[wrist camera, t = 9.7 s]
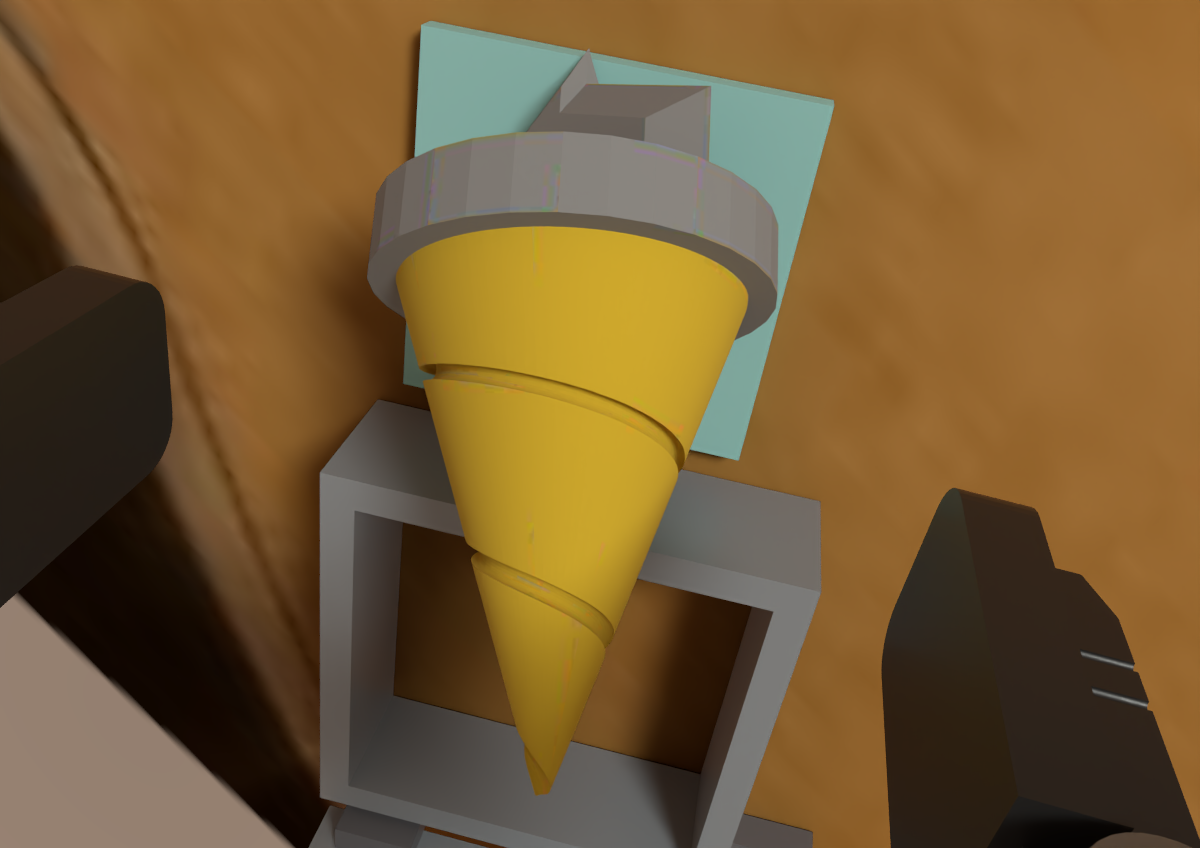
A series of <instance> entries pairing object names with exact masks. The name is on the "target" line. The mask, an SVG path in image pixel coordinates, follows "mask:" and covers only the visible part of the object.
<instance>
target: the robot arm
mask: <svg viewBox="0 0 1200 848" xmlns="http://www.w3.org/2000/svg"><path fill="white" fill-rule="evenodd" d="M171 428H172V401H171V388H170V374H169V361H168V348H167V335H166V321H165V310H164V304H163V300H162V297H161V295H160V293H159V291H158V290H157V289H156V288H155V287H154V286H153V285H152V284H149V283H147V282H143V281H139V280H135V279H131V278H127V277H123V276H119V275H115V274H111V273H107V272H103V271H99V270H95V269H91V268H87V267H83V266H71V267H69V268H66V269H64V270H62V271H60V272H58V273H56V274H55V275H53V276H51V277H49V278H47V279H45V280H43V281H42V282H40V283H38V284H36V285H34V286H32V287H30V288H28V289H27V290H25V291H23V292H21V293H19V294H17V295H15V296H14V297H12V298H10V299H8V300H6V301H4V302H2V303H0V607H2V606H3V605H4V604H5V603H6V602H7V601H8V600H9V599H10V598H12V597H13V596H14V595H15V594H16V593H17V592H18V591H19V590H20V589H22V588H23V587H24V586H25V585H26V584H27V583H28V582H29V581H30V580H32V579H33V578H34V577H35V576H36V575H37V574H38V573H39V572H40V571H42V570H43V569H44V568H45V567H46V566H47V565H48V564H49V563H50V562H52V561H53V560H54V559H55V558H56V557H57V556H58V555H59V554H60V553H62V552H63V551H64V550H65V549H66V548H67V547H68V546H69V545H70V544H72V543H73V542H74V541H75V540H76V539H77V538H78V537H79V536H80V535H82V534H83V533H84V532H85V531H86V530H87V529H88V528H89V527H90V526H92V525H93V524H94V523H95V522H96V521H97V520H98V519H99V518H100V517H102V516H103V515H104V514H105V513H106V512H107V511H108V510H109V509H110V508H112V507H113V506H114V505H115V504H116V503H117V502H118V501H119V500H120V499H122V498H123V497H124V496H125V495H126V494H127V493H128V492H129V491H130V490H132V489H133V488H134V487H135V486H136V485H137V484H138V483H139V482H140V481H142V480H143V479H144V478H145V477H146V476H147V475H148V474H149V473H150V472H151V471H152V470H153V469H154V468H155V466H156V465H157V464H158V462H159V461H160V459H161V457H162V455H163V453H164V451H165V449H166V446H167V444H168V441H169V437H170V433H171ZM1134 664H1135V663H1134V660H1133V657H1132V654H1131V652H1130V649H1129V646H1128V643H1127V641H1126V638H1125V635H1124V633H1123V630H1122V627H1121V624H1120V622H1119V619H1118V618H1117V616H1116V615H1115V614H1114V613H1113V612H1112V611H1111V609H1110V608H1109V607H1108V606H1107V605H1106V603H1105V602H1104V601H1103V600H1102V599H1101V598H1100V596H1099V595H1098V594H1097V593H1096V592H1095V590H1094V589H1093V588H1092V587H1091V586H1090V585H1089V583H1088V582H1087V581H1086V580H1085V579H1084V577H1083V576H1082V575H1080V574H1076V573H1072V572H1068V571H1065V570H1061V569H1057V568H1055V566H1054V563H1053V559H1052V556H1051V553H1050V550H1049V546H1048V543H1047V540H1046V536H1045V533H1044V530H1043V527H1042V523H1041V520H1040V517H1039V515H1038V512H1037V511H1036V510H1035V509H1034V508H1032V507H1028V506H1024V505H1020V504H1016V503H1013V502H1009V501H1005V500H1001V499H997V498H993V497H989V496H985V495H981V494H977V493H973V492H969V491H965V490H961V489H957V488H952V489H950V490H949V491H948V492H947V493H946V494H945V496H944V497H943V499H942V500H941V502H940V504H939V506H938V508H937V510H936V513H935V515H934V517H933V520H932V522H931V524H930V527H929V529H928V531H927V533H926V536H925V538H924V540H923V543H922V545H921V547H920V550H919V552H918V554H917V557H916V559H915V561H914V563H913V566H912V568H911V570H910V573H909V575H908V577H907V580H906V582H905V584H904V587H903V589H902V591H901V593H900V596H899V598H898V600H897V603H896V605H895V608H894V610H893V613H892V616H891V619H890V622H889V625H888V629H887V633H886V638H885V643H884V649H883V656H882V691H883V709H884V728H885V746H886V765H887V784H888V802H889V821H890V839H891V848H1200V839H1199V837H1198V834H1197V831H1196V829H1195V826H1194V823H1193V820H1192V818H1191V815H1190V812H1189V809H1188V807H1187V804H1186V801H1185V799H1184V796H1183V793H1182V790H1181V788H1180V785H1179V782H1178V780H1177V777H1176V774H1175V771H1174V769H1173V766H1172V763H1171V761H1170V758H1169V755H1168V752H1167V750H1166V747H1165V744H1164V741H1163V739H1162V736H1161V733H1160V731H1159V728H1158V725H1157V722H1156V720H1155V717H1154V714H1153V712H1152V711H1149V710H1147V704H1148V702H1149V701H1148V698H1147V695H1146V692H1145V690H1144V687H1143V684H1142V682H1141V679H1140V676H1139V673H1138V672H1134V671H1133V667H1134Z"/></svg>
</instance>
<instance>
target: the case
mask: <svg viewBox="0 0 1200 848" xmlns="http://www.w3.org/2000/svg"><path fill="white" fill-rule="evenodd" d="M403 522H404V523H409V524H413V525H417V526H421V527H425V528H429V529H434V530H438V531H442V532H446V533H450V534H454V535H458V536H463V537H465V536H464V533H463V529H462V525H461V521H460V518H459V514H458V510H457V507H456V503H455V499H454V495H453V492H452V488H451V484H450V481H449V477H448V473H447V470H446V466H445V462H444V458H443V455H442V451H441V447H440V444H439V440H438V436H437V433H436V429H435V425H434V421H433V418H432V414H431V411H426V410H422V409H418V408H413V407H409V406H405V405H400V404H396V403H392V402H387V401H383V400H379V399H378V400H377V401H376V402H375V404H374V405H373V406H372V407H371V409H370V410H369V411H368V413H367V414H366V415H365V416H364V418H363V419H362V420H361V421H360V423H359V424H358V425H357V426H356V428H355V429H354V430H353V431H352V433H351V434H350V435H349V436H348V438H347V439H346V440H345V441H344V443H343V444H342V445H341V447H340V448H339V449H338V450H337V452H336V453H335V454H334V455H333V457H332V458H331V459H330V460H329V462H328V463H327V464H326V465H325V467H324V468H323V469H322V470H321V472H320V798H324V799H328V800H331V801H335V802H339V803H343V804H346V805H347V806H346V808H345V809H342V808H338V807H334V806H329V808H328V810H327V812H326V814H325V816H324V818H323V820H322V822H321V824H320V826H319V828H318V830H317V832H316V834H315V836H314V838H313V840H312V842H311V844H310V846H309V848H487V847H484V846H480V845H476V844H472V843H469V842H465V841H461V840H457V839H454V838H450V837H446V836H443V835H439V834H435V833H431V832H428V831H424V828H425V826H429V827H432V828H436V829H440V830H444V831H447V832H451V833H455V834H459V835H462V836H466V837H470V838H474V839H477V840H481V841H485V842H489V843H492V844H496V845H500V846H503V847H507V848H812V838H813V832H810V831H807V830H803V829H799V828H795V827H791V826H787V825H783V824H780V823H776V822H772V821H768V820H764V819H760V818H756V817H753V816H749V815H745V814H743V812H744V809H745V806H746V803H747V800H748V798H749V795H750V792H751V789H752V786H753V783H754V781H755V778H756V775H757V772H758V769H759V766H760V764H761V761H762V758H763V755H764V752H765V749H766V747H767V744H768V741H769V738H770V735H771V733H772V730H773V727H774V724H775V721H776V718H777V716H778V713H779V710H780V707H781V704H782V701H783V699H784V696H785V693H786V690H787V687H788V684H789V682H790V679H791V676H792V673H793V670H794V667H795V665H796V662H797V659H798V656H799V653H800V650H801V648H802V645H803V642H804V639H805V636H806V633H807V631H808V628H809V625H810V622H811V619H812V616H813V614H814V611H815V608H816V605H817V602H818V599H819V597H820V594H821V523H820V501H816V500H811V499H807V498H803V497H798V496H794V495H790V494H785V493H781V492H777V491H772V490H768V489H764V488H760V487H755V486H751V485H747V484H742V483H738V482H734V481H729V480H725V479H721V478H716V477H712V476H708V475H703V474H699V473H695V472H690V471H686V470H682V469H681V470H680V472H679V473H678V479H677V482H676V485H675V487H674V489H673V492H672V494H671V497H670V499H669V502H668V504H667V507H666V509H665V511H664V514H663V516H662V519H661V521H660V524H659V526H658V529H657V531H656V534H655V536H654V538H653V541H652V543H651V546H650V548H649V551H648V553H647V556H646V558H645V560H644V563H643V565H642V568H641V570H640V573H639V575H638V578H637V579H641V580H645V581H649V582H653V583H657V584H661V585H666V586H670V587H674V588H678V589H682V590H686V591H690V592H695V593H699V594H703V595H707V596H711V597H715V598H720V599H724V600H728V601H732V602H736V603H740V604H744V605H749V606H752V609H751V612H750V615H749V618H748V622H747V625H746V628H745V631H744V635H743V638H742V641H741V644H740V648H739V651H738V654H737V657H736V661H735V664H734V667H733V670H732V674H731V677H730V680H729V683H728V687H727V690H726V693H725V696H724V700H723V703H722V706H721V709H720V713H719V716H718V719H717V722H716V726H715V729H714V732H713V735H712V739H711V742H710V745H709V748H708V752H707V755H706V758H705V761H704V765H703V768H702V771H701V774H697V773H693V772H689V771H685V770H681V769H677V768H674V767H670V766H666V765H662V764H658V763H654V762H650V761H646V760H642V759H638V758H635V757H631V756H627V755H623V754H619V753H615V752H611V751H607V750H603V749H599V748H596V747H592V746H588V745H584V744H580V743H576V742H572V741H571V742H570V744H569V747H568V749H567V752H566V754H565V756H564V759H563V761H562V764H561V766H560V768H559V771H558V773H557V776H556V778H555V780H554V783H553V785H552V787H551V790H550V792H549V793H548V794H545V795H544V794H542V795H538V796H536V795H535V793H534V790H533V786H532V783H531V779H530V776H529V772H528V769H527V765H526V761H525V755H524V742H523V741H522V739H521V737H520V735H519V733H518V731H517V728H516V727H514V726H510V725H506V724H502V723H498V722H494V721H490V720H486V719H483V718H479V717H475V716H471V715H467V714H463V713H459V712H455V711H451V710H448V709H444V708H440V707H436V706H432V705H428V704H424V703H420V702H416V701H412V700H409V699H405V698H401V697H397V696H393V691H394V673H395V655H396V637H397V619H398V601H399V583H400V565H401V546H402V528H403Z"/></svg>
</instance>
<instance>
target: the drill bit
mask: <svg viewBox="0 0 1200 848" xmlns="http://www.w3.org/2000/svg"><path fill="white" fill-rule="evenodd" d="M710 111H711V86H690V85H633V84H599V83H598V80H597V76H596V72H595V69H594V65H593V62H592V58H591V54H590V51H589V49H588V50H587V51H586V53H585V54H584V55H583V57H582V58H581V59H580V61H579V62H578V63H577V65H576V66H575V67H574V69H573V70H572V71H571V73H570V74H569V75H568V77H567V78H566V79H565V81H564V82H563V83H562V85H561V86H560V87H559V89H558V90H557V91H556V93H555V94H554V95H553V97H552V98H551V99H550V101H549V102H548V103H547V105H546V106H545V107H544V109H543V110H542V111H541V113H540V114H539V115H538V117H537V118H536V119H535V121H534V122H533V123H532V125H531V126H530V127H529V129H528V130H527V131H526V132H515V133H507V134H500V135H492V136H485V137H477V138H471V139H467V140H463V141H460V142H456V143H452V144H448V145H445V146H441V147H437V148H434V149H432V150H430V151H428V152H425V153H423V154H421V155H419V156H417V157H415V158H412V159H410V160H408V161H406V162H405V163H404V164H402V165H401V166H400V167H399V168H397V169H396V170H395V171H393V172H392V173H391V174H390V175H388V176H387V177H386V179H385V181H384V182H383V184H382V185H381V187H380V189H379V190H378V192H377V194H376V202H375V211H374V220H373V229H372V237H371V246H370V255H369V264H368V273H367V279H368V282H369V284H370V286H371V288H372V291H373V293H374V294H375V295H376V296H377V297H378V298H379V299H380V300H381V301H382V302H383V303H384V304H385V305H386V306H387V307H389V308H390V309H392V310H393V311H395V312H396V313H398V314H399V315H401V316H402V317H404V318H405V319H406V321H407V325H408V329H409V333H410V336H411V340H412V344H413V347H414V351H415V355H416V359H417V362H418V366H419V369H420V370H421V371H423V372H426V373H429V374H432V375H435V376H434V378H433V379H429V380H424V381H423V384H424V388H425V392H426V396H427V399H428V403H429V407H430V410H431V414H432V418H433V421H434V425H435V429H436V433H437V436H438V440H439V444H440V447H441V451H442V455H443V458H444V462H445V466H446V470H447V473H448V477H449V481H450V484H451V488H452V492H453V495H454V499H455V503H456V507H457V510H458V514H459V518H460V521H461V525H462V529H463V533H464V536H465V540H466V542H467V544H468V545H469V546H471V547H472V548H474V549H475V550H477V551H478V552H477V553H475V554H474V555H473V556H472V558H471V562H472V566H473V570H474V573H475V577H476V581H477V584H478V588H479V592H480V595H481V599H482V603H483V607H484V610H485V614H486V618H487V621H488V625H489V629H490V632H491V636H492V640H493V644H494V647H495V651H496V655H497V658H498V662H499V666H500V669H501V673H502V677H503V681H504V684H505V688H506V692H507V695H508V699H509V703H510V706H511V710H512V714H513V718H514V721H515V725H516V728H517V731H518V733H519V735H520V737H521V739H522V741H523V742H524V755H525V761H526V765H527V769H528V772H529V776H530V779H531V783H532V786H533V790H534V793H535V795H536V796H538V795H542V794H544V795H545V794H548V793H549V792H550V790H551V787H552V785H553V783H554V780H555V778H556V776H557V773H558V771H559V768H560V766H561V764H562V761H563V759H564V756H565V754H566V752H567V749H568V747H569V744H570V742H571V739H572V737H573V734H574V732H575V729H576V727H577V725H578V722H579V720H580V717H581V715H582V712H583V710H584V707H585V705H586V702H587V700H588V698H589V695H590V693H591V690H592V688H593V685H594V683H595V680H596V678H597V676H598V673H599V671H600V668H601V666H602V663H603V661H604V658H605V648H606V647H607V646H608V645H609V644H610V642H611V641H612V639H613V636H614V634H615V632H616V629H617V627H618V624H619V622H620V619H621V617H622V614H623V612H624V609H625V607H626V605H627V602H628V600H629V597H630V595H631V592H632V590H633V587H634V585H635V583H636V580H637V578H638V575H639V573H640V570H641V568H642V565H643V563H644V560H645V558H646V556H647V553H648V551H649V548H650V546H651V543H652V541H653V538H654V536H655V534H656V531H657V529H658V526H659V524H660V521H661V519H662V516H663V514H664V511H665V509H666V507H667V504H668V502H669V499H670V497H671V494H672V492H673V489H674V487H675V485H676V482H677V479H678V473H679V472H680V470H681V469H682V467H683V465H684V463H685V460H686V458H687V455H688V453H689V450H690V448H691V445H692V443H693V440H694V438H695V436H696V433H697V431H698V428H699V426H700V423H701V421H702V418H703V416H704V414H705V411H706V409H707V406H708V404H709V401H710V399H711V396H712V394H713V391H714V389H715V387H716V384H717V382H718V379H719V377H720V374H721V372H722V369H723V367H724V365H725V362H726V360H727V357H728V355H729V352H730V350H731V347H732V345H733V343H734V340H736V339H739V338H741V337H743V336H745V335H747V334H750V333H752V332H753V331H754V330H756V329H757V328H758V327H760V326H761V325H762V324H764V323H765V322H767V320H768V319H769V317H770V316H771V315H772V313H773V312H774V310H775V309H776V303H777V294H778V222H777V219H776V217H775V214H774V211H773V209H772V207H771V205H770V204H769V203H768V202H767V201H766V200H765V198H764V197H763V196H762V195H761V194H760V193H759V192H758V190H757V189H756V188H754V187H753V186H751V185H750V184H748V183H747V182H745V181H744V180H743V179H741V178H740V177H738V176H737V175H735V174H734V173H733V172H731V171H729V170H726V169H724V168H722V167H720V166H718V165H716V164H713V163H711V162H709V143H710Z"/></svg>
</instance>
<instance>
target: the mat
mask: <svg viewBox="0 0 1200 848" xmlns="http://www.w3.org/2000/svg"><path fill="white" fill-rule="evenodd" d="M585 53H586V51H581V50H576V49H571V48H566V47H561V46H556V45H551V44H546V43H540V42H535V41H530V40H525V39H520V38H515V37H510V36H505V35H500V34H495V33H490V32H485V31H480V30H474V29H469V28H464V27H459V26H454V25H449V24H444V23H439V22H434V21H429V22H427V23H425V24H422V25H421V41H420V60H419V80H418V100H417V120H416V139H415V157H417V156H419V155H421V154H423V153H425V152H428V151H430V150H432V149H434V148H437V147H441V146H445V145H448V144H452V143H456V142H460V141H463V140H467V139H471V138H477V137H485V136H492V135H500V134H507V133H515V132H526V131H527V130H528V129H529V127H530V126H531V125H532V123H533V122H534V121H535V119H536V118H537V117H538V115H539V114H540V113H541V111H542V110H543V109H544V107H545V106H546V105H547V103H548V102H549V101H550V99H551V98H552V97H553V95H554V94H555V93H556V91H557V90H558V89H559V87H560V86H561V85H562V83H563V82H564V81H565V79H566V78H567V77H568V75H569V74H570V73H571V71H572V70H573V69H574V67H575V66H576V65H577V63H578V62H579V61H580V59H581V58H582V57H583V55H584V54H585ZM590 54H591V58H592V62H593V65H594V69H595V72H596V76H597V80H598V83H599V84H633V85H690V86H711V111H710V143H709V162H711V163H713V164H716V165H718V166H720V167H722V168H724V169H726V170H729V171H731V172H733V173H734V174H735V175H737V176H738V177H740V178H741V179H743V180H744V181H745V182H747V183H748V184H750V185H751V186H753V187H754V188H756V189H757V190H758V192H759V193H760V194H761V195H762V196H763V197H764V198H765V200H766V201H767V202H768V203H769V204H770V205H771V207H772V209H773V211H774V214H775V217H776V219H777V222H778V294H777V303H776V309H775V310H774V312H773V313H772V315H771V316H770V317H769V319H768V320H767V322H765V323H764V324H762V325H761V326H760V327H758V328H757V329H756V330H754V331H753V332H752V333H750V334H747V335H745V336H743V337H741V338H739V339H736V340H734V343H733V345H732V347H731V350H730V352H729V355H728V357H727V360H726V362H725V365H724V367H723V369H722V372H721V374H720V377H719V379H718V382H717V384H716V387H715V389H714V391H713V394H712V396H711V399H710V401H709V404H708V406H707V409H706V411H705V414H704V416H703V418H702V421H701V423H700V426H699V428H698V431H697V433H696V436H695V438H694V440H693V443H692V445H691V448H690V450H695V451H699V452H703V453H708V454H712V455H716V456H721V457H725V458H730V459H734V460H738V461H739V457H740V453H741V450H742V446H743V442H744V439H745V435H746V431H747V427H748V424H749V420H750V416H751V413H752V409H753V405H754V402H755V398H756V394H757V390H758V387H759V383H760V379H761V376H762V372H763V368H764V364H765V361H766V357H767V353H768V350H769V346H770V342H771V339H772V335H773V331H774V327H775V324H776V320H777V316H778V313H779V309H780V305H781V301H782V298H783V294H784V290H785V287H786V283H787V279H788V276H789V272H790V268H791V264H792V261H793V257H794V253H795V250H796V246H797V242H798V238H799V235H800V231H801V227H802V224H803V220H804V216H805V213H806V209H807V205H808V201H809V198H810V194H811V190H812V187H813V183H814V179H815V175H816V172H817V168H818V164H819V161H820V157H821V153H822V150H823V146H824V142H825V138H826V135H827V131H828V127H829V124H830V120H831V116H832V112H833V109H834V100H830V99H825V98H820V97H815V96H809V95H804V94H799V93H794V92H789V91H784V90H779V89H774V88H769V87H764V86H759V85H754V84H749V83H743V82H738V81H733V80H728V79H723V78H718V77H713V76H708V75H703V74H698V73H693V72H688V71H683V70H677V69H672V68H667V67H662V66H657V65H652V64H647V63H642V62H637V61H632V60H627V59H622V58H617V57H611V56H606V55H601V54H596V53H591V52H590ZM434 376H435V375H432V374H429V373H426V372H423V371H421V370H420V369H419V366H418V362H417V359H416V355H415V351H414V347H413V344H412V340H411V336H410V333H409V329H408V325H407V321H406V337H405V357H404V376H403V384H407V385H411V386H415V387H420V388H424V384H423V381H424V380H429V379H433V378H434ZM424 389H425V388H424Z"/></svg>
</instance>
